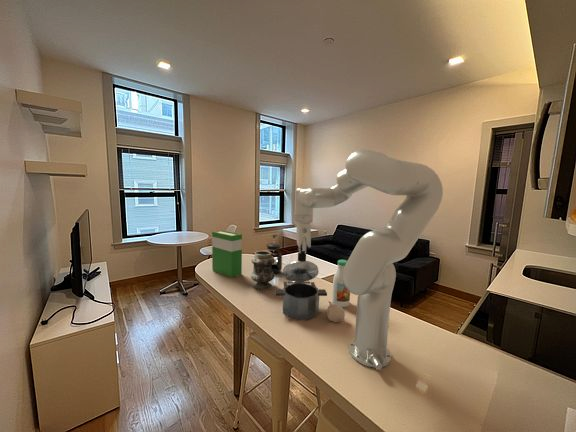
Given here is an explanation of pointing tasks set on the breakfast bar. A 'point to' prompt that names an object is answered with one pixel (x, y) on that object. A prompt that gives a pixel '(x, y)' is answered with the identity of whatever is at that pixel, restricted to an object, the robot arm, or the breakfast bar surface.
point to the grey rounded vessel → (262, 270)
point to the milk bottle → (340, 287)
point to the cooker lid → (300, 271)
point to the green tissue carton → (227, 253)
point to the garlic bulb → (335, 313)
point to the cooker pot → (300, 300)
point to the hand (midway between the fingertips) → (301, 262)
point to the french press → (277, 263)
